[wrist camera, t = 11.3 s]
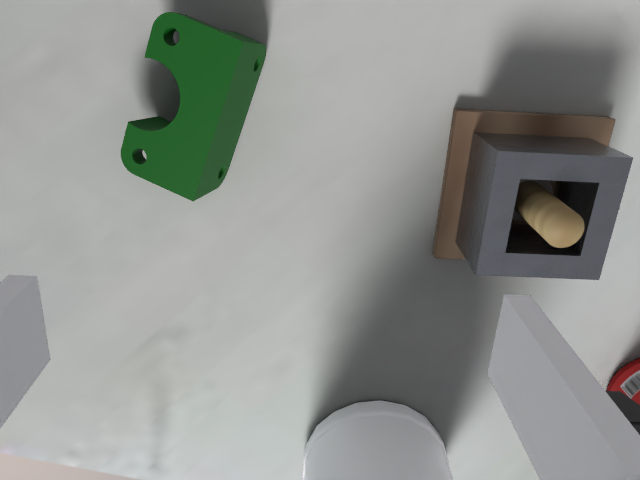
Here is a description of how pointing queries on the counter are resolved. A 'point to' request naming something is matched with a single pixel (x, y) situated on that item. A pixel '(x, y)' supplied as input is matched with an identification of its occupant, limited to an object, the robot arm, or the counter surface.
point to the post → (532, 195)
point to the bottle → (375, 445)
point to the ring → (571, 188)
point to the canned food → (627, 381)
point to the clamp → (195, 106)
